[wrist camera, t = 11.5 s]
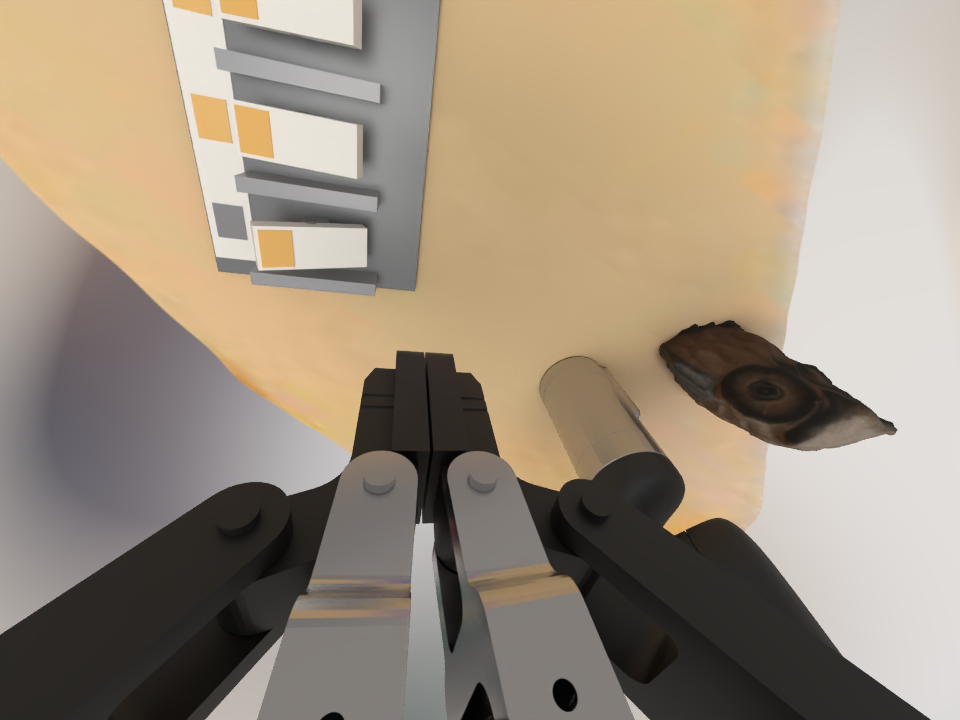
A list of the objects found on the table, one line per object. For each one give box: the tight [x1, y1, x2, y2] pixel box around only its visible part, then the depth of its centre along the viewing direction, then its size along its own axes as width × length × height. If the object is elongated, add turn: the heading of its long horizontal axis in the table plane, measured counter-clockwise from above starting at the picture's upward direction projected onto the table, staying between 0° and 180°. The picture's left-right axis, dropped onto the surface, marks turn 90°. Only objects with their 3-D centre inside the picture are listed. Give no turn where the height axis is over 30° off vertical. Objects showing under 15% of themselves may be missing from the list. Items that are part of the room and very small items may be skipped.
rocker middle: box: [230, 99, 363, 179], centre depth 28 cm, size 9×4×2 cm, turn 80°
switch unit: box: [162, 0, 440, 296], centre depth 30 cm, size 19×26×4 cm
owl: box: [659, 320, 897, 451], centre depth 45 cm, size 13×13×20 cm
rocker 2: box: [250, 220, 367, 271], centre depth 32 cm, size 9×4×2 cm, turn 80°
